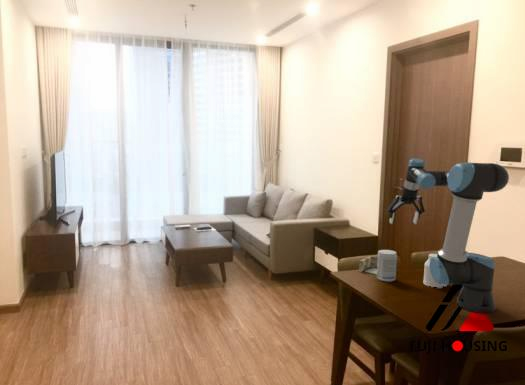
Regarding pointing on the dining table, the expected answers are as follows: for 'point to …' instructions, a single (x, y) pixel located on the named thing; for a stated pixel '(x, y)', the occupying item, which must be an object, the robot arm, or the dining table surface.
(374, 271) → the mat
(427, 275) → the jar
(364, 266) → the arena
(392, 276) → the supplement tub
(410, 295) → the dining table surface
